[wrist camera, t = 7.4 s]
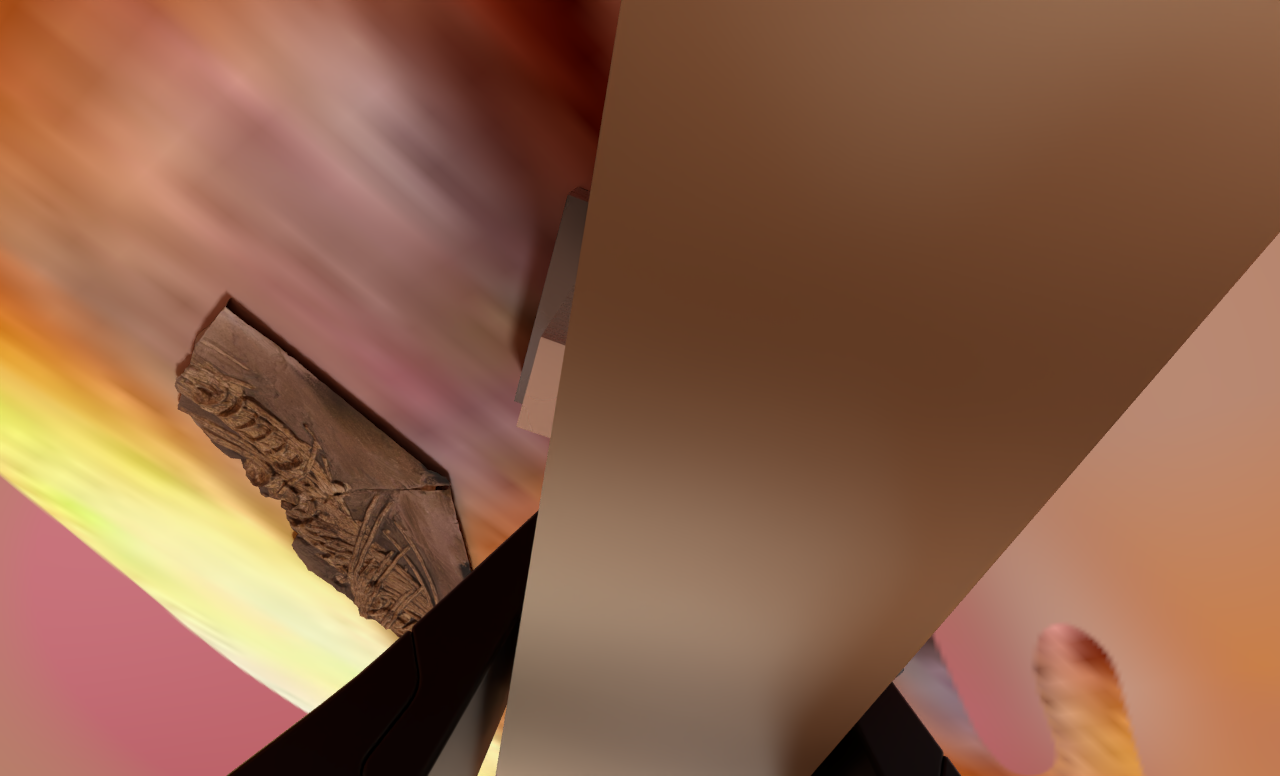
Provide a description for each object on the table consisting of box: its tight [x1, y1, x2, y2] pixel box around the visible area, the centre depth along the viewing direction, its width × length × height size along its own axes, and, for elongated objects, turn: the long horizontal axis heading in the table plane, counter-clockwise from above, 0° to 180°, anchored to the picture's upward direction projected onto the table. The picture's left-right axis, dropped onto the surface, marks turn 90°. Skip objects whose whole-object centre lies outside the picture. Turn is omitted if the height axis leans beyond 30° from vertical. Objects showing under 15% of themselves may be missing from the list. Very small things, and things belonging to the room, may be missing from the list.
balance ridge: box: [514, 187, 590, 438], centre depth 17 cm, size 12×8×6 cm, turn 71°
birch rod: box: [496, 0, 1280, 776], centre depth 8 cm, size 18×4×4 cm, turn 168°
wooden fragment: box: [175, 299, 471, 637], centre depth 26 cm, size 26×11×1 cm, turn 15°
